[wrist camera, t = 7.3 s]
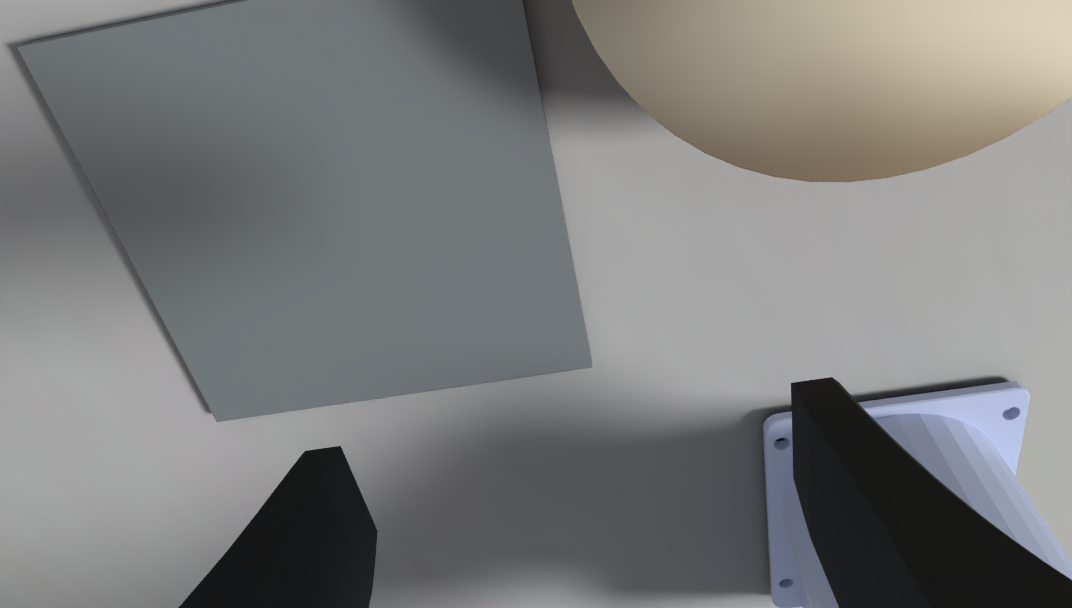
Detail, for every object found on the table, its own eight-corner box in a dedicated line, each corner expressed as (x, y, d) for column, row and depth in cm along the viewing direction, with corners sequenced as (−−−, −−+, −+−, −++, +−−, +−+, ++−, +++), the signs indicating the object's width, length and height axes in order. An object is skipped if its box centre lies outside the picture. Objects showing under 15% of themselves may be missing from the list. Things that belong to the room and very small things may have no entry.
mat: (591, 359, 25) (591, 367, 25) (220, 413, 26) (216, 422, 26) (512, -57, 19) (512, -53, 18) (25, 42, 20) (16, 46, 20)
